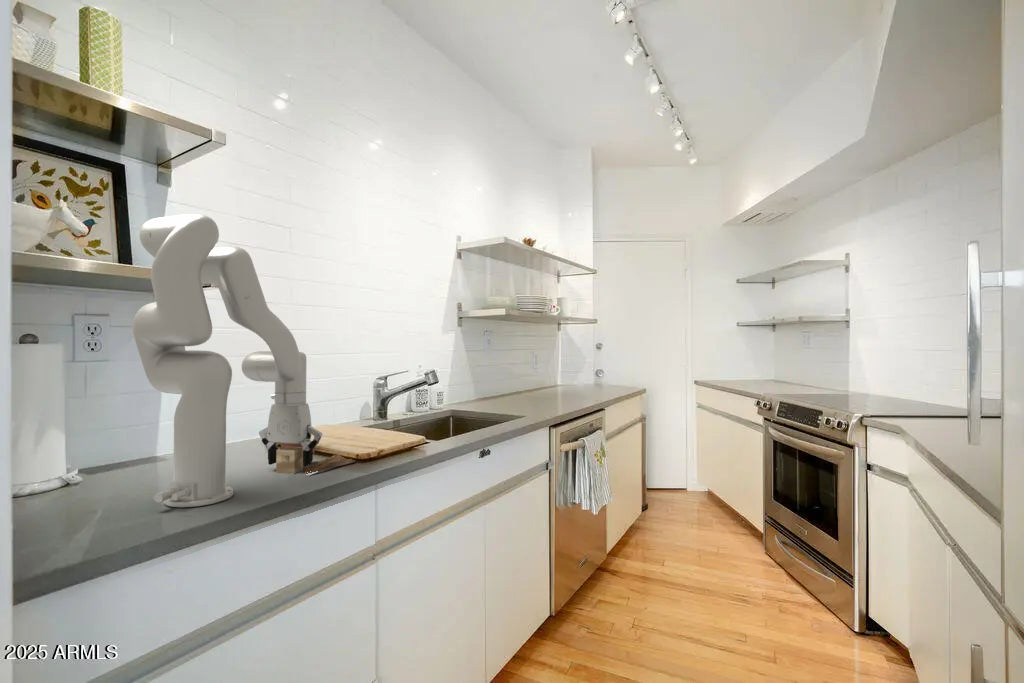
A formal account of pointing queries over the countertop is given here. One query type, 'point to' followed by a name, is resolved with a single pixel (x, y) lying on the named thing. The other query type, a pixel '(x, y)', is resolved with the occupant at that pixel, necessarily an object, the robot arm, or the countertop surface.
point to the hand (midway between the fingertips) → (290, 464)
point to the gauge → (290, 459)
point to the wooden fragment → (328, 464)
